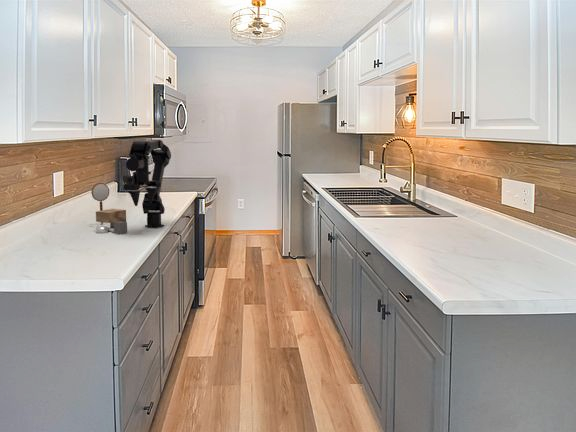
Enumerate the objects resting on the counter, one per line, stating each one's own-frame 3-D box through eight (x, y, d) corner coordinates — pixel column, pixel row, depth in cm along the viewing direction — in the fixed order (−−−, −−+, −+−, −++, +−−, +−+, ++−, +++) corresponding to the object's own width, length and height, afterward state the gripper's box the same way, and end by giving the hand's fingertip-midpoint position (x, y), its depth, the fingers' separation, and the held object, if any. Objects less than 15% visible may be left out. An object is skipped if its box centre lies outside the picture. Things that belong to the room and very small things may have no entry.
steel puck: (101, 231, 243) (101, 226, 243) (110, 232, 241) (110, 226, 241) (93, 233, 238) (93, 227, 238) (102, 233, 236) (102, 228, 236)
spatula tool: (108, 230, 245) (107, 219, 245) (127, 233, 238) (126, 222, 238) (100, 231, 242) (100, 220, 241) (120, 234, 235) (119, 223, 234)
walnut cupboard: (113, 226, 253) (112, 208, 252) (126, 228, 250) (125, 209, 249) (96, 230, 244) (95, 211, 243) (109, 231, 240) (108, 212, 239)
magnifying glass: (109, 223, 263) (108, 182, 259) (111, 223, 261) (109, 182, 258) (92, 225, 257) (90, 183, 254) (93, 225, 256) (91, 183, 252)
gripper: (141, 167, 251) (143, 201, 253) (112, 170, 234) (114, 206, 236) (161, 168, 246) (162, 202, 248) (132, 171, 229) (134, 207, 232)
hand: (143, 204), depth 241 cm, fingers open, 9 cm apart
